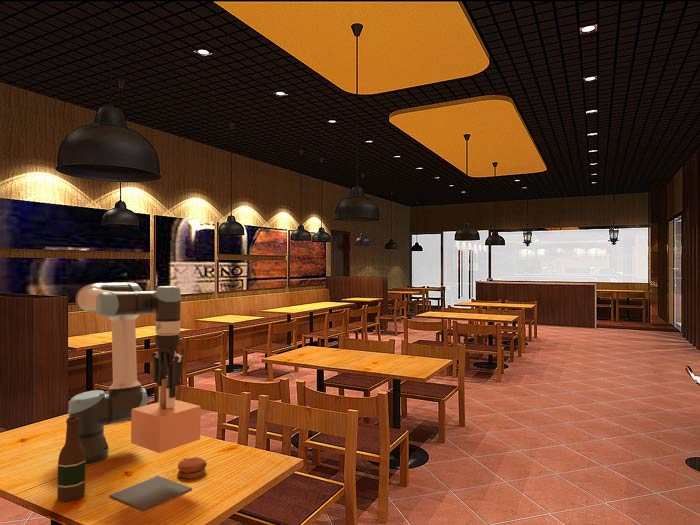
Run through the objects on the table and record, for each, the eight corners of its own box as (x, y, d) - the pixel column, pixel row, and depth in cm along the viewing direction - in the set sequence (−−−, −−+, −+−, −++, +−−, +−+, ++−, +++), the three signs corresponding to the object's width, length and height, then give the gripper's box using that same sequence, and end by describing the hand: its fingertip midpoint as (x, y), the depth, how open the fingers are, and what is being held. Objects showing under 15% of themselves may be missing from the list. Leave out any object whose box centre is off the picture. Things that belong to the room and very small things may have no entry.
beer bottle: (64, 491, 153) (65, 414, 153) (90, 490, 153) (91, 413, 154) (51, 503, 145) (52, 422, 146) (78, 502, 146) (80, 421, 146)
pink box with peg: (131, 442, 156) (132, 379, 156) (171, 430, 168) (172, 372, 168) (159, 453, 147) (160, 386, 148) (200, 439, 160) (201, 377, 160)
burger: (200, 480, 162) (200, 465, 162) (172, 479, 163) (172, 465, 163) (210, 468, 172) (210, 454, 172) (183, 467, 172) (184, 454, 173)
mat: (109, 496, 150) (109, 494, 150) (157, 477, 164) (157, 475, 164) (143, 511, 140) (143, 509, 140) (191, 489, 155) (191, 488, 155)
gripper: (142, 333, 160) (141, 405, 159) (173, 337, 151) (172, 413, 150) (162, 330, 166) (161, 400, 166) (193, 334, 157) (192, 408, 156)
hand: (166, 406), depth 158 cm, fingers closed on pink box with peg, 3 cm apart
